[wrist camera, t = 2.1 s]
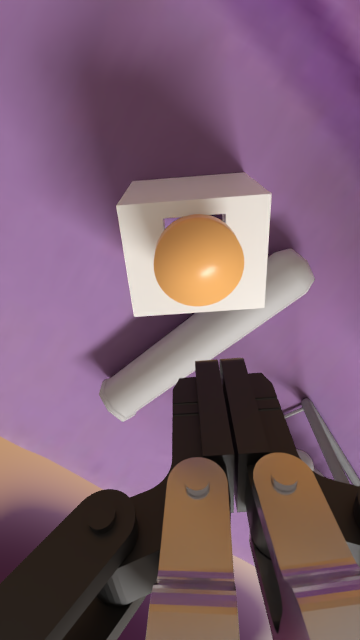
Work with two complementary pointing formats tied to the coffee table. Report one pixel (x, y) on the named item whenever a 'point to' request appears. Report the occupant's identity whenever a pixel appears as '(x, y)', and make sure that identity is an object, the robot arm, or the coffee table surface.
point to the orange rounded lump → (198, 260)
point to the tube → (202, 339)
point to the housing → (187, 199)
